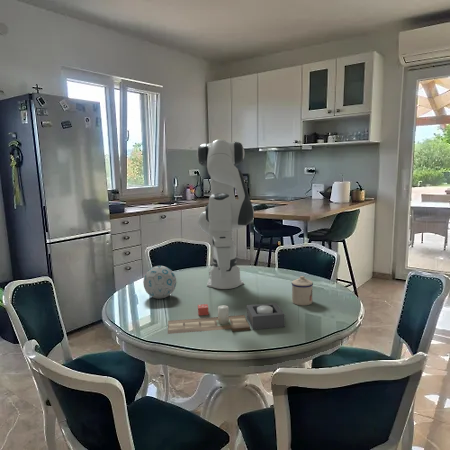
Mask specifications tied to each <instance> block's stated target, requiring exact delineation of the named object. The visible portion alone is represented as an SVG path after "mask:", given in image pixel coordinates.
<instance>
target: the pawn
mask: <svg viewBox="0 0 450 450" xmlns="http://www.w3.org/2000/svg"><path fill="white" fill-rule="evenodd" d="M229 316H230V315H229V306H228V305H223V304H222V305H218V306H217V317H218V323H219V324H222V325H224V324H228V323H229Z"/></svg>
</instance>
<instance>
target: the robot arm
mask: <svg viewBox="0 0 450 450" xmlns="http://www.w3.org/2000/svg"><path fill="white" fill-rule="evenodd" d="M245 154H246V153H245V149H244V146H243V144H242V142H239V141H234V142H233V141H226V140H224V139H216V140H213V141H212V142H210V143H206V142H205V143H202V144H200V145H199V146H198V147H197V150H196V158H197V161H198V163H199V164H200V166H203V167H206V168H207V173H208V176H209V177H210V190H211V191H210V192H211V193H210V194H211V195H209V198H208V204H207V205H206V206H205V208H204V209H205V211H201V213H200V214H199V216H198V218H197V224H198V226H199V229H201V231H203V232H204V233H206V235H208V242H209V244H211V245H212V252H213V257H212V265H213V266H212V267H211V269H210V270H208V275H209V277H208V280H207V283H206V287H208V288H209V287H210V288H214V289H218V290H228V289H229V290H230V289H235V288H237V287H239V286H243V285H244V284H245V282H244V281H243V280H242V279H241V270H240V268H239V266H237V265H238V261H237V260H238V259H237V255H236V243H235V241H234V239H233V238H234V236H233V234H234V232H233V231H236V230H241V229H243V228H245V227H246V226H249V224H250V223H252V221H253V220H254V217H255V210H254V206H253V203H252V201H251V197H250V194H249V192H248V189H247V184H246V181H245V178H244V175H243V172H242V170H240V169H239V168H238V167H237V166H239V165H241V164H242V162H243V161H244V158H245ZM235 190H236V194H237V198H238V199H236V197H235Z"/></svg>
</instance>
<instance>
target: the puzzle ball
mask: <svg viewBox="0 0 450 450" xmlns="http://www.w3.org/2000/svg"><path fill="white" fill-rule="evenodd" d="M176 286H177V277H176V275H175V273H174V271H173V270H172V269H171V268H169V267H167V266H164V265H156V266H153V267H151V268H150V269H149V270H147V272H146V273H145V274H144V277H143V288H144V290H145V292H146V293H147V294H148V295H149V296H150V297H152V298H154V299H158V300H161V299H165V298H167V297H169V296H170V295H172V294H173V292H174V291H175V289H176Z"/></svg>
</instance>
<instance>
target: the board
mask: <svg viewBox="0 0 450 450" xmlns="http://www.w3.org/2000/svg"><path fill="white" fill-rule="evenodd" d="M221 330H231V331H232V332H239V331H240V332H241V331H251V325H250V323H249V321H248V319H247V316H246V315H245V314H240V315H237V314H236V315H229V323H228V324H224V325H222V324H219V323H218V316H213V317H200V318H199V317H198V318H188V319H175V320H174V319H172V320H167V335H172V334H182V333H183V334H185V333H195V332H196V333H197V332H207V331H208V332H209V331H221Z"/></svg>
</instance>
